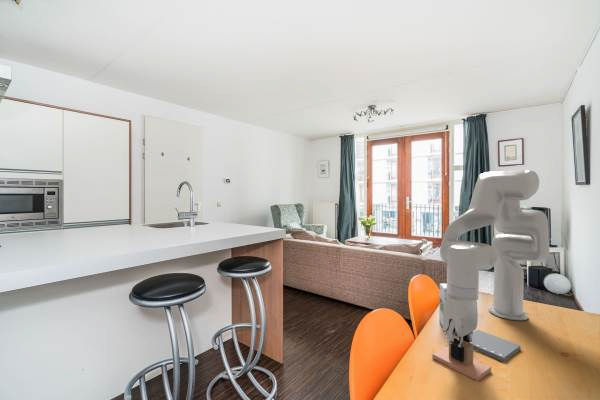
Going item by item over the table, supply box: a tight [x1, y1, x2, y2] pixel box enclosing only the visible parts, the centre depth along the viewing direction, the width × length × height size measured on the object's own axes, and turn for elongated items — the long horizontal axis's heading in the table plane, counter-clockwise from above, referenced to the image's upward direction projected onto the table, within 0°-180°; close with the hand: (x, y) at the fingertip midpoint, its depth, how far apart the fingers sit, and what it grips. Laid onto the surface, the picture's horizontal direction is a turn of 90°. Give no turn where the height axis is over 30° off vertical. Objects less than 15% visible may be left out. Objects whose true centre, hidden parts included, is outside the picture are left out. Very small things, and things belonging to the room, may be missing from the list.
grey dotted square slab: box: [469, 329, 521, 363], centre depth 88 cm, size 12×12×1 cm
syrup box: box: [438, 282, 448, 327], centre depth 101 cm, size 6×6×14 cm
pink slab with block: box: [431, 336, 492, 382], centre depth 78 cm, size 7×12×6 cm, turn 34°
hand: (460, 356), depth 78 cm, fingers closed on pink slab with block, 3 cm apart
